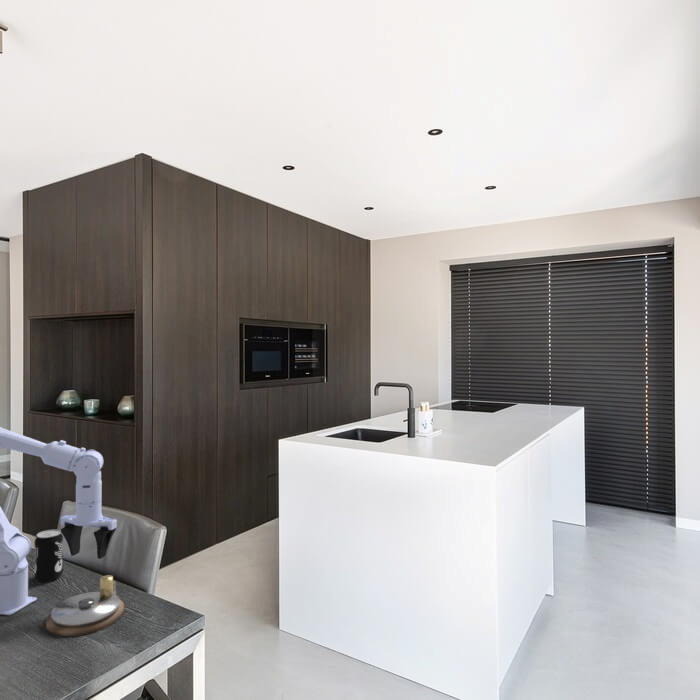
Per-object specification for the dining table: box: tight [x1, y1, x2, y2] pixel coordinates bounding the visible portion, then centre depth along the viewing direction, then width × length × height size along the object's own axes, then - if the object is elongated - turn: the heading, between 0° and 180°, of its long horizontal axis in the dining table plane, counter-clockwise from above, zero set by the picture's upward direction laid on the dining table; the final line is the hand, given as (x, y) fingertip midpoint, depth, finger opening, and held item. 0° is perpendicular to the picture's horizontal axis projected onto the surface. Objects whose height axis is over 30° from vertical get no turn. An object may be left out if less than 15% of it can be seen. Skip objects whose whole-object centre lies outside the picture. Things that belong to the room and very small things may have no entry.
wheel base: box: [45, 580, 125, 637], centre depth 121 cm, size 16×18×4 cm
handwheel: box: [50, 574, 120, 628], centre depth 120 cm, size 14×14×6 cm
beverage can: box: [33, 529, 64, 583], centre depth 140 cm, size 7×7×12 cm
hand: (88, 555), depth 129 cm, fingers open, 7 cm apart
